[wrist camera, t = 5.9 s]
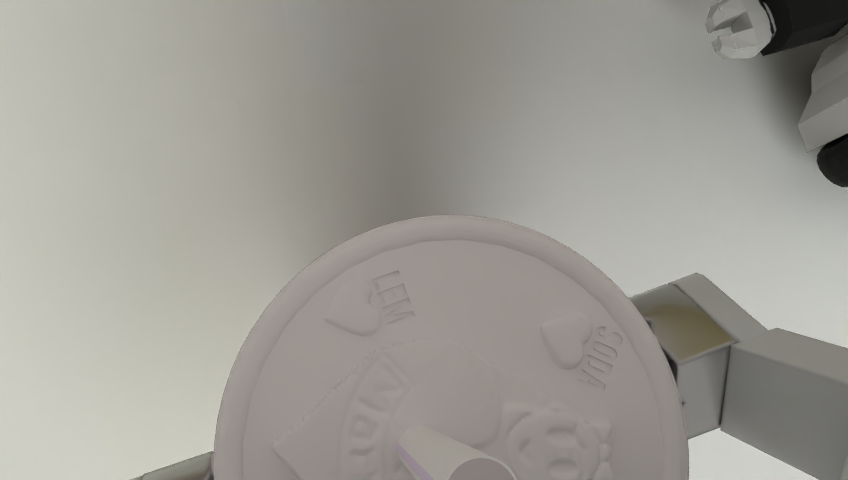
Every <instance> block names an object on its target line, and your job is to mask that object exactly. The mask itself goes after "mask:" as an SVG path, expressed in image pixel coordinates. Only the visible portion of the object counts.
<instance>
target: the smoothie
mask: <svg viewBox="0 0 848 480" xmlns="http://www.w3.org/2000/svg"><path fill="white" fill-rule="evenodd" d="M213 472H214V480H689V448H688V438H687V428H686V423H685V417H684V412H683V407H682V403H681V399H680V396H679V392H678V389H677V385H676V382H675V379H674V376H673V374H672V371H671V369H670V366H669V363H668V361H667V359H666V357H665V355H664V353H663V351H662V349H661V347H660V344H659V342H658V340H657V339H656V337H655V335H654V334H653V332H652V330H651V329H650V327H649V326H648V324H647V322H646V321H645V319H644V318H643V317H642V315H641V314H640V312H639V311H638V310H637V308H636V307H635V306H634V304H633V303H632V302H631V301H630V300H629V298H628V297H627V296H626V295H625V294H624V293H623V292H622V291H621V289H620V288H619V287H618V286H617V285H616V284H615V283H614V282H613V281H612V280H611V279H609V278H608V277H607V276H606V275H605V274H604V273H603V272H602V271H601V270H600V269H598V268H597V267H596V266H594V265H593V264H592V263H591V262H589V261H588V260H587V259H585V258H584V257H583V256H581V255H580V254H578V253H576V252H575V251H573V250H572V249H570V248H569V247H567V246H566V245H564V244H562V243H560V242H558V241H556V240H554V239H552V238H550V237H548V236H546V235H544V234H541V233H539V232H536V231H534V230H531V229H529V228H526V227H523V226H520V225H516V224H513V223H509V222H506V221H501V220H496V219H491V218H486V217H478V216H468V215H435V216H425V217H417V218H411V219H406V220H401V221H396V222H393V223H390V224H386V225H383V226H380V227H376V228H374V229H371V230H369V231H366V232H364V233H362V234H359V235H357V236H354V237H352V238H351V239H349V240H347V241H345V242H343V243H341V244H339V245H337V246H335V247H334V248H332V249H331V250H329V251H328V252H326V253H325V254H323V255H322V256H320V257H319V258H317V259H316V260H314V261H313V262H312V263H311V264H309V265H308V266H307V267H306V268H304V269H303V270H302V271H301V272H299V273H298V274H297V275H296V276H295V277H294V278H293V279H292V280H291V281H290V282H289V283H288V284H287V285H286V286H285V287H284V288H283V289H282V290H281V291H280V292H279V293H278V294H277V296H276V297H275V298H274V299H273V300H272V302H271V303H270V304H269V305H268V306H267V308H266V309H265V310H264V312H263V313H262V315H261V316H260V318H259V319H258V320H257V322H256V323H255V325H254V326H253V328H252V329H251V331H250V333H249V335H248V337H247V338H246V340H245V342H244V344H243V345H242V347H241V349H240V351H239V354H238V356H237V358H236V360H235V363H234V365H233V367H232V370H231V372H230V375H229V378H228V381H227V384H226V387H225V390H224V393H223V397H222V401H221V406H220V410H219V414H218V419H217V426H216V434H215V442H214V466H213Z"/></svg>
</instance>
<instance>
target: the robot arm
mask: <svg viewBox="0 0 848 480" xmlns="http://www.w3.org/2000/svg"><path fill="white" fill-rule="evenodd" d="M629 300H630V301H631V302H632V303H633V304H634V306H635V307H636V308H637V310H638V311H639V312H640V314H641V315H642V317H643V318H644V319H645V321H646V322H647V324H648V326H649V327H650V329H651V330H652V332H653V334H654V335H655V337H656V339H657V340H658V342H659V344H660V347H661V349H662V351H663V353H664V355H665V357H666V359H667V361H668V363H669V366H670V369H671V371H672V374H673V376H674V379H675V382H676V385H677V389H678V392H679V396H680V399H681V403H682V407H683V412H684V417H685V423H686V428H687V438H688V439H690V438H693V437H696V436H698V435H701V434H704V433H706V432H709V431H712V430H714V429H717V428H720V427H721V429H720V430H721V431H723V432H725V433H727V434H729V435H731V436H733V437H735V438H737V439H739V440H741V441H743V442H745V443H747V444H749V445H751V446H753V447H755V448H757V449H759V450H761V451H763V452H765V453H767V454H769V455H771V456H773V457H775V458H777V459H779V460H781V461H783V462H785V463H787V464H789V465H791V466H793V467H795V468H797V469H799V470H801V471H803V472H805V473H807V474H809V475H811V476H813V477H815V478H817V479H819V480H848V348H844V347H841V346H837V345H834V344H831V343H827V342H824V341H820V340H817V339H813V338H810V337H806V336H803V335H800V334H796V333H793V332H789V331H786V330H782V329H779V328H775V329H772V330H769V331H768V330H767V329H766V328H765V327H764V326H762V325H761V324H760V323H759V322H758V321H757V320H755V319H754V318H753V317H752V316H751V315H750V314H748V313H747V312H746V311H745V310H744V309H743V308H741V307H740V306H739V305H738V304H737V303H736V302H734V301H733V300H732V299H731V298H730V297H729V296H727V295H726V294H725V293H724V292H723V291H722V290H720V289H719V288H718V287H717V286H716V285H714V284H713V283H712V282H711V281H710V280H709V279H707V278H706V277H705V276H704V275H702V274H699V273H694V274H691V275H689V276H686V277H683V278H681V279H678V280H675V281H673V282H670V283H668V284H664V285H662V286H659V287H656V288H654V289H651V290H648V291H646V292H643V293H641V294H638V295H635V296H633V297H630V298H629ZM213 466H214V452H212V451H211V452H208V453H205V454H202V455H199V456H196V457H193V458H190V459H187V460H184V461H181V462H178V463H175V464H172V465H170V466H167V467H164V468H161V469H158V470H155V471H152V472H149V473H146V474H144V475H142V476H139V477H136V478H133V479H130V480H214V472H213Z"/></svg>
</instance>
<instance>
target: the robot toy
mask: <svg viewBox="0 0 848 480" xmlns="http://www.w3.org/2000/svg"><path fill="white" fill-rule="evenodd" d="M847 23H848V0H723V1H721V2H720V3H718V4H716V5H714V6H712V7H711V8H710V11H709V14H708V18H707V21H706V24H705V26H706V28H707V31H708V34H709V33H711V32H712V31H715V30H719V29H723V28H727V27H731V30H732V32H733V34H730V35H723V36H718V38H717V39H716V41H714V42H712V44H713V47H714V49H715V52H717V53H718V54H719V55H720V56H721V57H722V58H723V59H738V58H754V57H755V56H756V55H757V54H758V53H759V52H761V54H762V55H763V56H765V55H769V54H772V53H776V52H780V51H783V50H787V49H790V48H794V47H797V46H801V45H804V44H808V43H812V42H815V41H818V40H821V39H825V38H828V37H831V36H834V35H835V34H836V33H837V32H838V31H840V30H841V29H842V28H843V27H844V26H845V25H846V24H847ZM798 128H799V131H800V133H801V136H802V139H803V142H804V145H805V148H806V150H807V152H809V151H811V150H813V149H816V148H818V147H820V146H822V145H824V144H825V145H824V146H823V148H822V149H821V150H820V152H819V153H818V155H817V163H818V166H819V169H820V170H821V172H822V173H823V174H824V176H825V177H826V178H827V179H829V180H830V181H831V182H832V183H834V184H836V185H838V186H841V187H847V188H845V189H844V190H847V191H848V33H847V34H846V35H844V36H843V37H842V38H840V39H839V40H838V41H836V42H835V43H833V44H832V45H831V46H829V47H828V48H827V49H825V50H824V51H823V52H822V54H821V56H820V58H819V60H818V62H817V64H816V66H815V68H814V70H813V72H812V94H811V96H810V98H809V100H808V103H807V105H806V107H805V109H804V112H803V114H802V116H801V118H800V121H799V123H798Z"/></svg>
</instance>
